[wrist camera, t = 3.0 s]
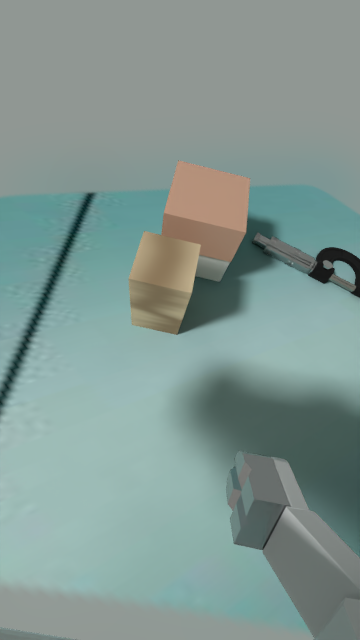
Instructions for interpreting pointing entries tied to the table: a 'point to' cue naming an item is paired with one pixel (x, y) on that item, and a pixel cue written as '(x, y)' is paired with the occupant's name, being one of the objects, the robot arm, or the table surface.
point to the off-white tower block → (211, 268)
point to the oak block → (162, 282)
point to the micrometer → (313, 261)
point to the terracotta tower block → (207, 209)
